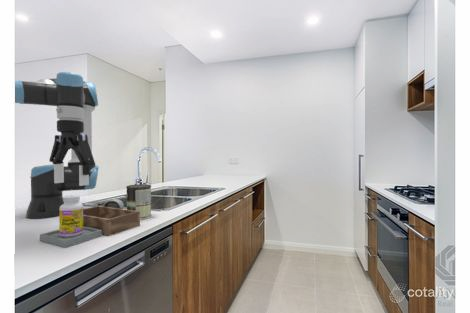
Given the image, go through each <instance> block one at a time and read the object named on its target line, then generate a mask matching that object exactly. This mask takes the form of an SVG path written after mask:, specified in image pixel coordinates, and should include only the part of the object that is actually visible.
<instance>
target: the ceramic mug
mask: <svg viewBox="0 0 470 313" xmlns="http://www.w3.org/2000/svg"><path fill="white" fill-rule="evenodd" d="M102 206H104V207H111V208H119V209H124V208H125V205H124V202H123V201H122V200H121V199H118V198H113V199H111V200H108V201H106V202H105V203H104V204H103V205H102Z"/></svg>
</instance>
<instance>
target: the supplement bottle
mask: <svg viewBox="0 0 470 313" xmlns="http://www.w3.org/2000/svg"><path fill="white" fill-rule="evenodd" d="M63 202H64V204H63V205H61V206H60V209H59V221H58V222H59V226H58V227H59V229H58V230H59V231H60V236H61V237H73V236H77V235H80V234H82V233H83V209H84V205H83V203H81V202H80V195H77V194H74V195H66V196H63Z"/></svg>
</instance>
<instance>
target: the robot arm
mask: <svg viewBox="0 0 470 313" xmlns="http://www.w3.org/2000/svg"><path fill="white" fill-rule="evenodd" d="M96 87H97V86H96V84H95V83H94V82H90V81H85V80H84V77H83V76H82V75H80V74H78V73H76V72H71V71H59V72H57V73H56V78H45V79H44V78H43V79H39V80H37V81H25V80H24V81H23V80H19V79H18V80H15V103H14V104H20V105H35V106H36V105H38V106H51V107H56V109H55V111H56V118H57V119H58V120H57V121H56V130H57V132H58V133H60V135H59V134H58V135H57V134H56V135H54V141H53V142H54V143H53V146H52V149H51V152H50V156H49V162H50V163H52V164H47V165H46V164H44V165H37V166H33V167H32V168H31V171H30V177H29V178H30V202H29V205H28V206H27V209H26V213H25V215H26V219H45V218H53V217H58V216H59V209H60V206H61V205H63V204H64V202H63V197H64V196H63V192H64V191H65V192H68V191H86V190H93V189H96V186H97V181H98V174H99V173H98V172H99V165H98V164H97V165H96V161H95V159H94V156H93V153H92V152H93V144H92V143H93V142H92V141H93V140H92V138H93V136H92V135H93V134H92V133H93V129H92V128H93V127H92V126H93V123H92V120H93V118H92V117H93V116H92V113H93V112H94V111H95V110H96V107H98V106H99V101H98V95H97V94H98V92H97V88H96ZM69 150H71V153H70V154H71V158H70V159H69V160H68V162H67V165H66V166H65V164H64V159H65V158H66V156H67V153H68V152H69Z"/></svg>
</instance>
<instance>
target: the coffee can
mask: <svg viewBox="0 0 470 313" xmlns="http://www.w3.org/2000/svg"><path fill="white" fill-rule="evenodd" d="M125 187H126V210H133V211H140V221H142V220H146V219H149V218H151V217H152V192H151V191H152V185H151V184H147V183H146V184H145V183H144V184H143V183H140V184H129V185H126V186H125Z"/></svg>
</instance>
